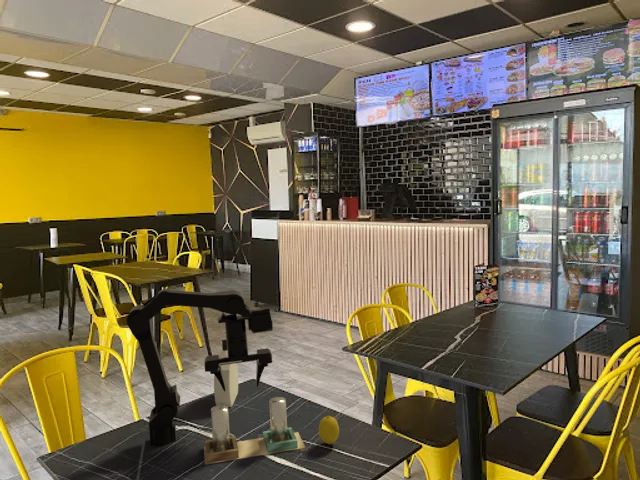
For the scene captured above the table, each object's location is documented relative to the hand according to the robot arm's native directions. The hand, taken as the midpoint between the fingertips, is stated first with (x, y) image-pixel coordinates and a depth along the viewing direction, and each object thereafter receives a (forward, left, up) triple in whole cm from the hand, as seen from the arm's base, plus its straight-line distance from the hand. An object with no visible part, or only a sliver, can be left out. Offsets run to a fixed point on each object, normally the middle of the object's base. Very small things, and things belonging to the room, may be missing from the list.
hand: (241, 388), depth 143 cm
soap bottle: (-2, +24, -13) cm, 28 cm away
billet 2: (+9, -12, -12) cm, 19 cm away
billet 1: (-7, -12, -12) cm, 18 cm away
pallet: (+2, -12, -13) cm, 18 cm away
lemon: (+22, -15, -13) cm, 29 cm away
